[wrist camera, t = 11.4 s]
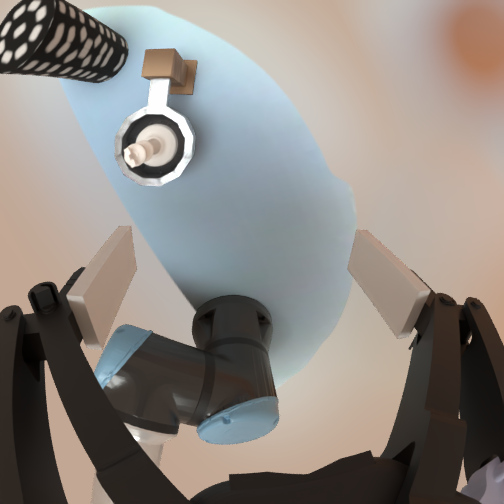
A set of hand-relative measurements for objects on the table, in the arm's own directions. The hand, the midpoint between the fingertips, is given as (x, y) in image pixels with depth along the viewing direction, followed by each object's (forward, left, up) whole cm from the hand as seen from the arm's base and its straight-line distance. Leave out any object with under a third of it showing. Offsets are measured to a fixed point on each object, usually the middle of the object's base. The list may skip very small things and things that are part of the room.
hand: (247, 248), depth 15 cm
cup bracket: (+6, +9, -18) cm, 21 cm away
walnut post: (+12, +9, -25) cm, 30 cm away
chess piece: (+3, +9, -17) cm, 20 cm away
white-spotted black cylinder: (+16, +21, -25) cm, 37 cm away
